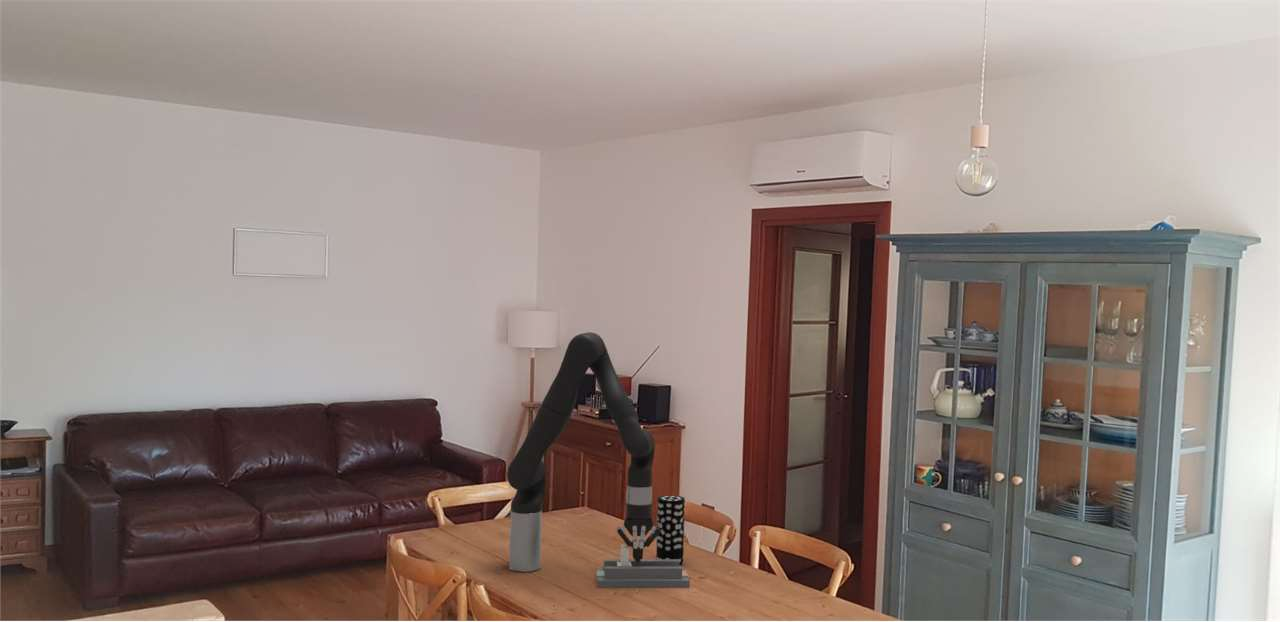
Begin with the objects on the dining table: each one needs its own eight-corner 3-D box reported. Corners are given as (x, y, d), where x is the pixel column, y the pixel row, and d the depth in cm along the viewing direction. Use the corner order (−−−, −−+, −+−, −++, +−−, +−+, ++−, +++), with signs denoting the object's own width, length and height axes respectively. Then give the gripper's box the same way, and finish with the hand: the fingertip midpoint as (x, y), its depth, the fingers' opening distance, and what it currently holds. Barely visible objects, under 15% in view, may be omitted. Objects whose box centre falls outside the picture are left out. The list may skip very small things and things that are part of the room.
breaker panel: (597, 587, 266) (597, 570, 266) (596, 574, 278) (596, 557, 278) (689, 587, 268) (689, 570, 268) (684, 574, 280) (684, 557, 280)
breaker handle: (617, 575, 270) (618, 548, 270) (616, 571, 274) (617, 544, 274) (631, 575, 271) (632, 548, 270) (630, 571, 275) (631, 544, 274)
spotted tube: (680, 567, 287) (682, 502, 286) (653, 565, 288) (655, 500, 288) (685, 560, 295) (686, 496, 294) (658, 558, 296) (660, 494, 296)
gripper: (616, 503, 268) (615, 564, 268) (663, 504, 269) (661, 564, 269) (615, 497, 275) (614, 557, 276) (660, 498, 276) (659, 557, 277)
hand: (637, 560), depth 273 cm, fingers closed
